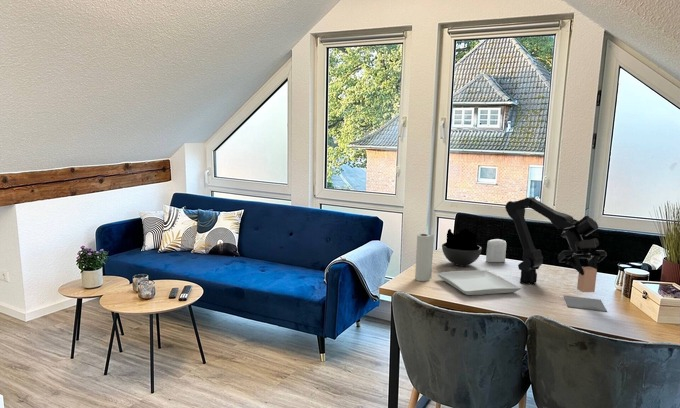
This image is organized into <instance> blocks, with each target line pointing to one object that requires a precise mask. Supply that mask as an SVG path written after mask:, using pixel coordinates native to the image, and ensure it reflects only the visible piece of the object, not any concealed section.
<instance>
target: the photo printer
mask: <svg viewBox="0 0 680 408" xmlns="http://www.w3.org/2000/svg"><path fill="white" fill-rule="evenodd" d="M506 251H507V242H506V240H504V239H500V238H494V239H490V240H487V245H486V256H485V261H486V262H487V263H505V262H506V255H507V253H506Z"/></svg>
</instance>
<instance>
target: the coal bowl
mask: <svg viewBox="0 0 680 408" xmlns="http://www.w3.org/2000/svg"><path fill="white" fill-rule="evenodd" d="M476 238H477V235H476V233H474V232H472V230H471V231H470V230H469V229H468V228H463V229H462V230H459V233H458V234H457V233H456V234H454V233H453V232H452V229H451V228H449V229H448V230H447V232H446V242H445V243H443V244H442V245H441V249H442V252H443V255H444V257H445V258H446V260H448V261H449V262H450V263H452V264H454V265H456V266H458V267H459V266H462V267H464V266H469V265H471V264H473V263H474V262H476V261H477V260H478V259H479V258H480V255H481V254H482V251H483V250H482V246H480V245H478V244H477V240H476Z"/></svg>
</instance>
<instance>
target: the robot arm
mask: <svg viewBox="0 0 680 408" xmlns="http://www.w3.org/2000/svg"><path fill="white" fill-rule="evenodd" d="M529 208H530V209H531V210H533V211H535V212H537V213H538V214H540V215H541V216H543V217H545V218H546V219H548V220H549V221H550V222H551V224H552V225H553V226H555V228H556V229H558V230H562V233H561V234H560V237H561V238H564V239H566V240H567V243H568V245H569V246H568V247H567V248H568V250H565V249H564V250H562V251H561V252H560V253H559V254H558V255H557V261H558V263H566V265H569V266H571V268H572V269H574V270H576V271H577V272H578V274H579V273H580V274H581V275H584V271H583V268H582V267H583V265H582V264H581V261H580V260H581V259H587V263H586V264H587V267H593V268H595V269H597V270H598V263H601V262H602V261H603V260H604V259H606V257H607V256H608V254H607V252H606V251H605V250H604V249H603V250H602V249H599V250H598V249H597V250H596V248H597V247H599V246H600V242H599V239H598V238H597V237H596V238H591V239H583V237H582V236H584V237H587V236H589V235H590V234H593V232H595V231H596V230H598V229H599V225H598V223H597V221H595V220H594V219H593V218H591V217H590V215H585V216H583V217H582V218H581V219H580V220H577V219H575V218H574V217H573V216H572V215H570V214H567V213H564V212H560V211H557V210H555V209H553V208H552V207H550V206H548V205H546V204H545V203H542V202H541V201H540V200H539V199H536V198H535V197H534V196H533V197H532V196H530V197H526V198H523V199H519V200H518V199H517V200H510V201H507V202H506V204H505V211H506V213H507V215H508V216H509V218H511V219H512V220H513V223H514V226H515V229H516V231H517V234H518V237H519V240H520V241H519V242H520V243H521V245H522V246H521V248H522V250H523V251H522V260H523V261H521V262H520V263H518V265H517V267H518V270H520V278H519V283H520V284H525V285H534V286H535V285H536V284H537V280H538V273H537V270H539V269H540V267H541V266H542V264H543V263H544V256H543V255H542V250H541V249H537V248H536V247H535V245H534V242H533V239H532V237H531V233H530V231H529V228H528V225H527V221H526V218H525V216H526V215H525V214H526V209H529ZM566 229H567V230H566ZM592 249H595V250H594V251H593V252H591V251H592ZM590 252H591V253H590Z"/></svg>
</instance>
